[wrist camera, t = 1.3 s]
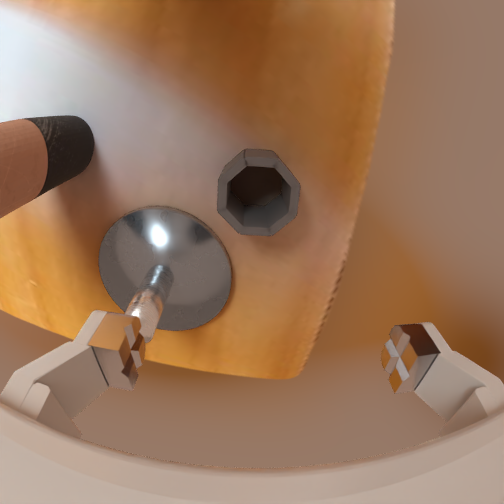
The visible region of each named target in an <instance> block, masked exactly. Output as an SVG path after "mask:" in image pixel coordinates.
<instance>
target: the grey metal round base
mask: <svg viewBox="0 0 504 504" xmlns="http://www.w3.org/2000/svg"><path fill="white" fill-rule="evenodd" d="M99 270H100V275H101V278H102V281H103V284H104V286H105V288H106V290H107V292H108V293H109V295H110V296H111V298H112V299H113V301H114V302H115V303H116V304H117V305H118V306H119V307H120V308H121V309H122V310H123V311H124V312H125V314H126V315H132V316H137V317H139V318H140V322H141V329H140V331H139V332H140V334H141V335H142V336H143V337H144V340H145V343H148V342H149V341H151V339H152V337H153V335H154V332H155V329H156V328H158V329H163V330H171V331H179V330H188V329H192V328H196V327H199V326H201V325H203V324H205V323H207V322H208V321H210V320H211V319H213V318H214V317H215V316H216V315H217V314H218V313H219V312H220V311H221V310H222V308H223V307H224V305H225V303H226V301H227V299H228V296H229V293H230V287H231V278H232V273H231V264H230V260H229V257H228V254H227V251H226V249H225V247H224V245H223V244H222V242H221V241H220V239H219V238H218V236H217V235H216V234H215V233H214V232H213V231H212V229H211V228H209V227H208V226H207V225H206V224H205V223H204V222H202V221H201V220H199V219H198V218H196V217H195V216H193V215H191V214H189V213H187V212H184V211H182V210H179V209H175V208H171V207H164V206H149V207H143V208H139V209H136V210H134V211H131V212H129V213H128V214H126V215H124V216H123V217H122V218H120V219H119V220H118V221H117V222H116V223H115V224H114V225H113V226H112V227H111V228H110V229H109V230H108V232H107V233H106V235H105V236H104V239H103V241H102V243H101V247H100V251H99Z"/></svg>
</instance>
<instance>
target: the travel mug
mask: <svg viewBox="0 0 504 504" xmlns="http://www.w3.org/2000/svg"><path fill="white" fill-rule="evenodd" d="M93 148H94V141H93V135H92V132H91V129H90V127H89V126H88V124H87V123H86V122H85V121H84V120H83V119H81V118H79V117H76V116H49V117H36V118H25V119H18V120H12V121H7V122H2V123H0V218H2V217H3V216H5V215H7V214H8V213H10V212H12V211H14V210H15V209H17V208H19V207H21V206H23V205H24V204H26V203H28V202H30V201H32V200H33V199H35V198H37V197H39V196H40V195H42V194H44V193H45V192H47V191H49V190H51V189H52V188H54V187H56V186H58V185H60V184H62V183H63V182H65V181H67V180H69V179H71V178H73V177H75V176H76V175H78V174H80V173H81V172H82V171H83V170H84V169H85V168H86V167H87V166H88V164H89V162H90V160H91V157H92V154H93Z"/></svg>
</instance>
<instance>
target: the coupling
mask: <svg viewBox="0 0 504 504" xmlns="http://www.w3.org/2000/svg"><path fill="white" fill-rule="evenodd" d="M246 166H259V167H272V168H275V169H276V170H277V171H278V172H279V174H280V175H281V176H282V187H281V194H279V195H278V196H277V197H276V198H274V199H273V200H272V201H271V202H270V203H268V204H267V205H266V206H254V205H244V204H243V203H242V202H241V201H240V200H239V199H238V197H237V196H236V195H235V194H234V193H233V192H232V191H231V179H232V178H234V177H235V176H236V175H237V174H238V173H239V172H241V171H242V170H243V169H244V168H245V167H246ZM299 194H300V183H299V182H298V181H297V179H296V178H295V177H294V175H293V174H292V173H291V172H290V170H289V169H288V168H287V167H286V166H285V164H284V163H283V162H282V161H281V160H280V158H279V157H278V156H277V155H276V154H275V153H274V152H273V151H270V150H257V149H246V150H245V149H244V150H243V151H242V152H241V153H240V154H238V155H237V156H236V157H235V158H234V159H233V160H231V161H230V162H229V163H228V164H227V165H226V166H225V167H224V169H223V171H222V173H221V175H220V177H219V179H218V199H217V211H218V213H219V214H220V215H221V216H222V217H223V218H224V219H225V220H226V221H227V222H228V223H229V224H230V225H231V226H232V227H233V228H234V229H235V230H236V231H237V232H238V233H240V234H242V235H259V236H271V235H274V234H275V233H276V232H278V231H279V230H280V229H281V228H283V227H284V226H285V225H287V224H288V223H289V222H290V221H292V220H293V219H294V218H295V217H296V216H297V210H298V202H299Z"/></svg>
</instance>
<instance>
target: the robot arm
mask: <svg viewBox="0 0 504 504" xmlns="http://www.w3.org/2000/svg"><path fill="white" fill-rule="evenodd" d="M140 329H141V322H140V318H139V317H137V316H132V315H126V314H120V313H114V312H106V311H100V310H95V311H93V312H92V313H91V315H90V316H89V318H88V319H87V321H86V322H85V324H84V325H83V327H82V328H81V330H80V331H79V333H78V335H77V336H76V338H75V339H74V341H73V342H67V343H65V344H63V345H62V346H60V347H58V348H56V349H54V350H53V351H51V352H49V353H47V354H45V355H43V356H42V357H40V358H38V359H36V360H34V361H33V362H31V363H29V364H27V365H26V366H24V367H22V368H20V369H18V370H16V371H15V372H14V374H13V375H12V377H11V378H10V380H9V382H8V383H7V385H6V386H5V388H4V390H3V391H2V393H1V395H0V504H504V385H503V383H502V382H501V380H500V379H499V378H497V377H496V376H494V375H493V374H491V373H490V372H488V371H486V370H485V369H483V368H481V367H480V366H478V365H477V364H475V363H474V362H472V361H470V360H469V359H467V358H466V357H464V356H462V355H461V354H459V353H457V352H456V351H453V352H452V350H451V349H450V347H449V346H448V345H447V343H446V342H445V340H444V339H443V337H442V336H441V334H440V333H439V332H438V330H437V329H436V327H435V326H434V324H432V323H430V322H425V323H418V324H405V325H395V326H394V327H393V328H392V329H391V332H390V334H389V335H390V338H391V339H390V340H389V341H388V342H387V343H385V345H384V347H383V350H382V353H381V361H382V366H383V368H384V370H385V371H386V372H388V373H389V374H390V376H389V382H390V384H391V387H392V389H393V391H394V394H397V393H404V392H410V391H414V392H415V393H416V394H417V395H418V396H419V397H420V398H421V399H422V400H423V401H425V402H426V403H427V404H428V405H429V406H430V407H431V408H432V409H433V410H434V411H435V412H436V413H437V414H439V415H440V416H441V417H442V418H443V419H444V420H445V421H446V422H447V423H446V424H445V425H444V426H443V427H442V428H441V430H440V431H439V436H440V437H439V438H436V439H433V440H430V441H427V442H424V443H421V444H418V445H415V446H412V447H408V448H404V449H401V450H397V451H393V452H389V453H385V454H381V455H376V456H372V457H367V458H362V459H356V460H351V461H344V462H338V463H330V464H322V465H313V466H301V467H285V468H231V467H215V466H204V465H195V464H186V463H179V462H173V461H166V460H161V459H155V458H150V457H145V456H141V455H136V454H132V453H128V452H124V451H120V450H116V449H112V448H109V447H105V446H102V445H98V444H95V443H92V442H89V441H86V440H83V439H80V438H81V435H82V434H81V431H80V430H79V429H78V427H77V426H76V425H75V423H74V422H73V421H72V419H73V418H74V417H76V416H77V415H78V414H79V413H80V412H82V411H83V410H84V409H85V408H86V407H87V406H89V405H90V404H91V403H92V402H93V401H94V400H95V399H97V398H98V397H99V396H100V395H101V394H102V393H104V392H105V391H106V390H107V389H108V388H109V387H113V388H118V389H124V390H129V391H133V389H134V386H135V384H136V381H137V378H138V372H137V368H138V367H140V366H141V365H142V364H143V361H144V357H145V340H144V337H143V336H142V335H141V334H140V332H139V331H140Z"/></svg>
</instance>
